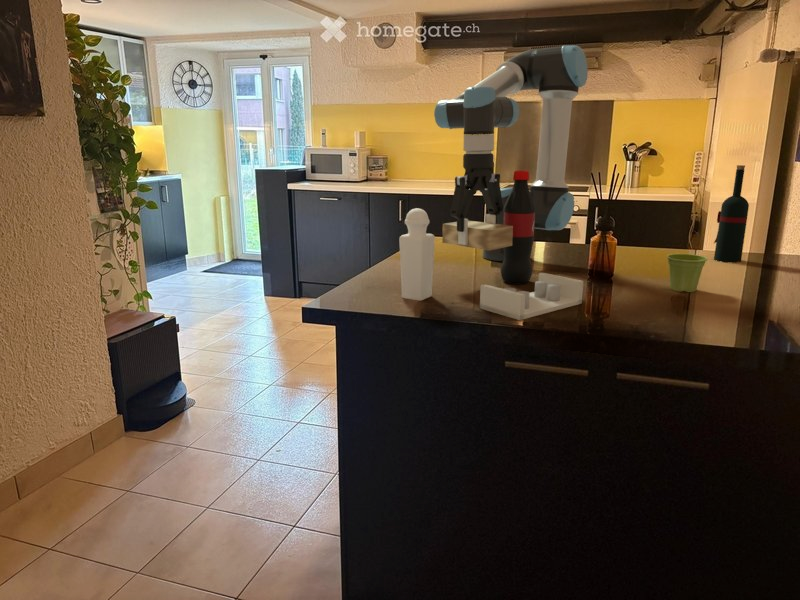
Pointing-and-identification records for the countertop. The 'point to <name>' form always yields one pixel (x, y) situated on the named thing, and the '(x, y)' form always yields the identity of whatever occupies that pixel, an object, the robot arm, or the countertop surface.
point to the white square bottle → (416, 257)
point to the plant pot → (685, 271)
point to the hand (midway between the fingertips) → (476, 241)
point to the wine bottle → (732, 223)
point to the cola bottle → (519, 231)
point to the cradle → (532, 297)
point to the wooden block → (480, 235)
